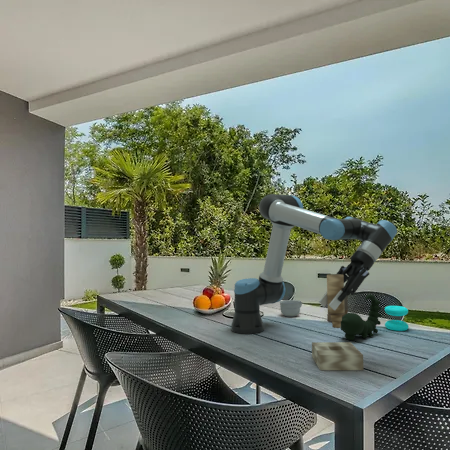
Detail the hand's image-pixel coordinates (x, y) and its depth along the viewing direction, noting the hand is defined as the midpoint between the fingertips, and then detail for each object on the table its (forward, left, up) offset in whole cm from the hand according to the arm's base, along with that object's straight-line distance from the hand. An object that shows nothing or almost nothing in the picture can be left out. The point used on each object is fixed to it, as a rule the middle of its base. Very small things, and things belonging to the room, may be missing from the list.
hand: (326, 305), depth 129 cm
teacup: (-2, +76, -20) cm, 79 cm away
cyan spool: (+42, +47, -20) cm, 66 cm away
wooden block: (+18, +59, -20) cm, 65 cm away
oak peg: (+4, +1, -8) cm, 8 cm away
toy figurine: (+21, +33, -20) cm, 44 cm away
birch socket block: (+3, +2, -20) cm, 20 cm away
